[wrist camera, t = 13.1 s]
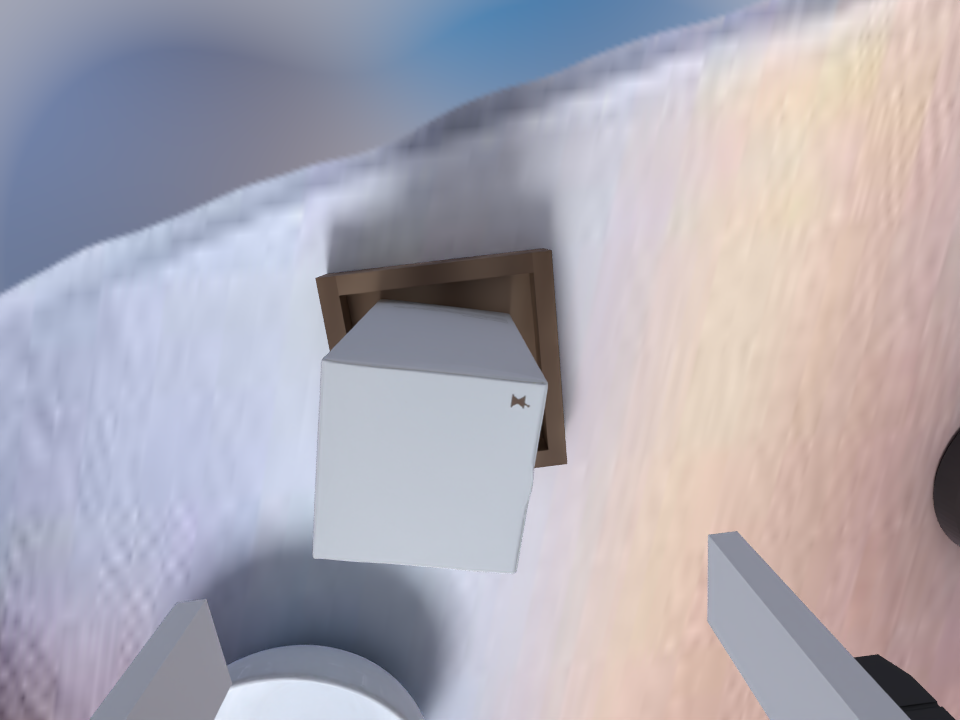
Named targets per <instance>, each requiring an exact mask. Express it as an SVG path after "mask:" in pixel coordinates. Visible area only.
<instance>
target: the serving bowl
mask: <svg viewBox="0 0 960 720" xmlns="http://www.w3.org/2000/svg"><path fill="white" fill-rule="evenodd" d="M227 668H228V671H229V675H230V678H231V681H232V685H231V687H230V689H229V691H228V693H227V695H226V697H225V699H224V701H223V703H222V705H221V707H220V709H219V711H218V713H217V715H216V717H215V719H214V720H424V718H423V715H422V713H421V711H420V710H419V708H418V706H417V704H416V703H415V701H414V700H413V698H412V697H411V696H410V694H409V693H408V692H407V690H406V689H405V688H404V687H403V686H402V685H401V684H400V683H399V682H398V681H397V680H396V679H395V678H394V677H393V676H392V675H391V674H389V673H388V672H387V671H386V670H384V669H383V668H381V667H380V666H378V665H377V664H375V663H373V662H371V661H370V660H368V659H366V658H363V657H361V656H359V655H356V654H354V653H351V652H348V651H345V650H341V649H337V648H332V647H326V646H319V645H291V646H282V647H276V648H271V649H267V650H264V651H260V652H257V653H254V654H251V655H248V656H246V657H243V658H241V659H239V660H237V661H235V662H233V663H231V664H229V665H227Z"/></svg>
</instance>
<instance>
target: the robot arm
mask: <svg viewBox="0 0 960 720" xmlns="http://www.w3.org/2000/svg"><path fill="white" fill-rule="evenodd" d="M933 499H934V508H935V513H936V517H937V519H938V522H939V524H940V526H941V528H942V529H943V531H944V532H945V534H946V535H947V536H948V537H949V538H950V539H951V540H952V541H953V542H954V543H956V544H957V545H959V546H960V432H959V433H958V435H957V436H956V437H955V439H954V440H953V441H952V443H951V444H950V446H949V448H948V449H947V451H946V453H945V455H944V457H943V459H942V461H941V463H940V466H939V469H938V472H937V475H936V479H935V484H934V496H933ZM708 623H709V625H710V626H711V628H712V629H713V631H714V633H715V634H716V636H717V637H718V639H719V640H720V642H721V644H722V645H723V647H724V648H725V650H726V651H727V653H728V654H729V656H730V658H731V659H732V661H733V662H734V664H735V665H736V667H737V669H738V670H739V672H740V673H741V675H742V676H743V678H744V680H745V681H746V683H747V684H748V686H749V687H750V689H751V691H752V692H753V694H754V695H755V697H756V698H757V700H758V702H759V703H760V705H761V706H762V708H763V709H764V711H765V713H766V714H767V716H768V717H769V719H770V720H955V719H954V718H953V717H952V716H951V715H950V714H949V713H948V712H947V711H946V710H945V709H944V708H943V707H940V706H939V705H938V704H937V701H936V700H935V699H934V698H933V697H932V696H931V695H930V694H929V693H928V692H927V691H926V690H925V689H924V688H923V687H922V686H921V685H920V684H919V683H918V682H917V681H916V680H915V679H914V678H913V677H912V676H911V675H909V674H908V673H906V672H905V671H903V670H902V669H900V668H898V667H897V666H895V665H894V664H892V663H891V662H889V661H887V660H886V659H884V658H883V657H881V656H880V655H878V654H877V655H870V656H862V657H854V658H853V656H852V655H851V654H850V653H849V652H848V651H847V650H846V649H845V648H844V647H843V646H842V645H841V643H840V642H839V641H838V640H837V639H836V638H835V637H834V636H833V635H832V634H831V633H830V631H829V630H828V629H827V628H826V627H825V626H824V625H823V624H822V623H821V622H820V621H819V620H818V618H817V617H816V616H815V615H814V614H813V613H812V612H811V611H810V610H809V609H808V608H807V607H806V605H805V604H804V603H803V602H802V601H801V600H800V599H799V598H798V597H797V596H796V595H795V594H794V592H793V591H792V590H791V589H790V588H789V587H788V586H787V585H786V584H785V583H784V582H783V581H782V579H781V578H780V577H779V576H778V575H777V574H776V573H775V572H774V571H773V570H772V569H771V568H770V566H769V565H768V564H767V563H766V562H765V561H764V560H763V559H762V558H761V557H760V556H759V555H758V553H757V552H756V551H755V550H754V549H753V548H752V547H751V546H750V545H749V544H748V543H747V542H746V540H745V539H744V538H743V537H742V536H741V535H740V534H739V533H738V532H737V531H735V532H727V533H719V534H711V535H708ZM231 685H232V681H231V678H230V675H229V671H228V668H227V665H226V662H225V658H224V655H223V652H222V648H221V645H220V642H219V639H218V635H217V632H216V629H215V625H214V622H213V619H212V616H211V612H210V609H209V606H208V602H207V599H200V600H192V601H184V602H177V603H176V604H175V605H174V607H173V608H172V609H171V611H170V612H169V613H168V615H167V616H166V617H165V619H164V620H163V621H162V623H161V624H160V626H159V627H158V628H157V630H156V631H155V632H154V634H153V635H152V636H151V638H150V639H149V640H148V642H147V643H146V644H145V646H144V647H143V648H142V650H141V651H140V652H139V654H138V655H137V656H136V658H135V659H134V660H133V662H132V663H131V664H130V666H129V667H128V669H127V670H126V671H125V673H124V674H123V675H122V677H121V678H120V679H119V681H118V682H117V683H116V685H115V686H114V687H113V689H112V690H111V691H110V693H109V694H108V695H107V697H106V698H105V699H104V701H103V702H102V703H101V705H100V706H99V708H98V709H97V710H96V712H95V713H94V714H93V716H92V717H91V718H90V720H214V719H215V717H216V715H217V713H218V711H219V709H220V707H221V705H222V703H223V701H224V699H225V697H226V695H227V693H228V691H229V689H230V687H231Z"/></svg>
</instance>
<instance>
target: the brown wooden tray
mask: <svg viewBox="0 0 960 720" xmlns="http://www.w3.org/2000/svg"><path fill="white" fill-rule="evenodd" d="M316 283H317V288H318V293H319V299H320V304H321V309H322V314H323V319H324V324H325V329H326V334H327V339H328V344H329V349H330V351H331V350H332V349H333V348H334V347H335V346H336V345H337V344H338V343H339V342H340V340H341V339H342V338H343V337H344V336H345V335H346V334H347V333H348V332H349V331H350V330H351V329H352V328H353V327H354V326H355V325H356V324H357V323H358V322H359V321H360V320H361V319H362V318H363V317H364V316H365V315H366V313H367V312H368V311H369V310H370V309H371V308H372V307H373V306H374V305H375V304H376V303H377V302H378V301H379V300H380V299H390V300H401V301H409V302H417V303H425V304H434V305H442V306H451V307H459V308H468V309H476V310H485V311H493V312H502V313H508V314H510V316H511V318H512V320H513V322H514V323H515V325H516V327H517V329H518V331H519V332H520V334H521V336H522V338H523V340H524V341H525V343H526V345H527V347H528V349H529V350H530V352H531V354H532V356H533V358H534V359H535V361H536V363H537V365H538V367H539V368H540V370H541V372H542V373H543V375H544V377H545V379H546V381H547V382H548V390H547V396H546V403H545V409H544V415H543V420H542V426H541V431H540V437H539V443H538V449H537V455H536V461H535V467H534V468H539V467H546V466H554V465H562V464H567V454H566V441H565V427H564V413H563V400H562V386H561V372H560V359H559V345H558V331H557V317H556V304H555V290H554V276H553V263H552V250H548V249H544V248H542V249H533V250H525V251H516V252H508V253H500V254H491V255H483V256H474V257H466V258H457V259H449V260H440V261H432V262H423V263H415V264H406V265H398V266H389V267H381V268H372V269H364V270H356V271H347V272H339V273H330V274H325V275H323V276H320V277H317V278H316Z"/></svg>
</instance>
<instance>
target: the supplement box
mask: <svg viewBox="0 0 960 720" xmlns="http://www.w3.org/2000/svg"><path fill="white" fill-rule="evenodd" d="M547 390H548V382H547V381H546V379H545V377H544V375H543V373H542V372H541V370H540V368H539V367H538V365H537V363H536V361H535V359H534V358H533V356H532V354H531V352H530V350H529V349H528V347H527V345H526V343H525V341H524V340H523V338H522V336H521V334H520V332H519V331H518V329H517V327H516V325H515V323H514V322H513V320H512V318H511V316H510V314H508V313H502V312H493V311H485V310H476V309H468V308H459V307H451V306H442V305H434V304H425V303H417V302H409V301H401V300H390V299H380V300H379V301H378V302H377V303H376V304H375V305H374V306H373V307H372V308H371V309H370V310H369V311H368V312H367V313H366V315H365V316H364V317H363V318H362V319H361V320H360V321H359V322H358V323H357V324H356V325H355V326H354V327H353V328H352V329H351V330H350V331H349V332H348V333H347V334H346V335H345V336H344V337H343V338H342V339H341V340H340V342H339V343H338V344H337V345H336V346H335V347H334V348H333V349H332V350H331V351H330V352H329V353H328V354H327V355H326V356H325V357H324V358H323V359H322V362H321V379H320V401H319V420H318V439H317V460H316V480H315V503H314V525H313V554H312V556H313V558H315V559H331V560H341V561H353V562H369V563H387V564H398V565H411V566H423V567H433V568H445V569H454V570H465V571H477V572H488V573H506V574H515V572H516V571H517V566H518V560H519V554H520V548H521V542H522V537H523V531H524V525H525V519H526V514H527V508H528V502H529V497H530V494H531V491H532V486H533V479H534V467H535V461H536V455H537V449H538V443H539V437H540V431H541V426H542V420H543V415H544V409H545V403H546V396H547Z"/></svg>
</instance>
